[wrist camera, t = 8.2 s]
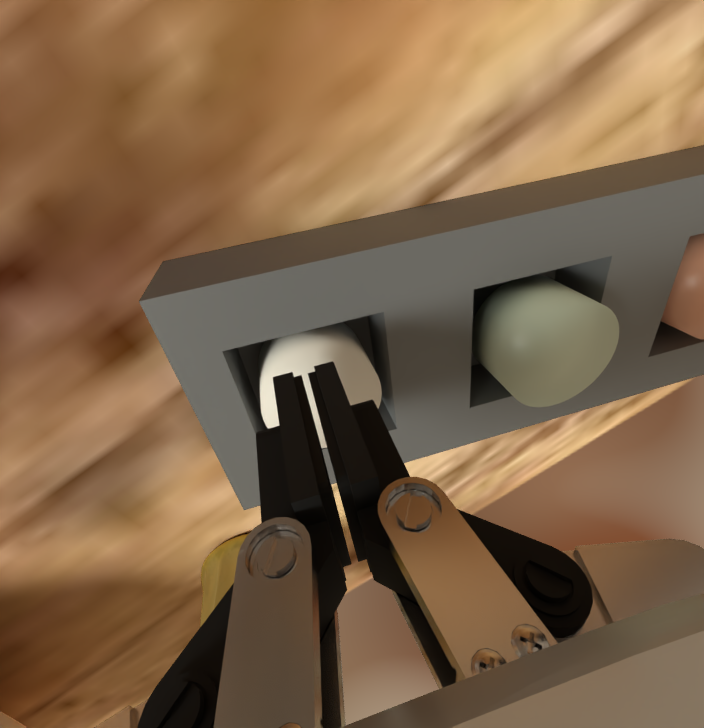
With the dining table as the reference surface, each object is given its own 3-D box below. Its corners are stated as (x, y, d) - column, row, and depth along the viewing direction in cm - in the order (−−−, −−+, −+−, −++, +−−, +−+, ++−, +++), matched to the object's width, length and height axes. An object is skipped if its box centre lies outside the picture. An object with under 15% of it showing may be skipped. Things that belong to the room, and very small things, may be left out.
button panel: (162, 261, 13) (139, 301, 10) (761, 132, 16) (878, 135, 13) (244, 447, 18) (243, 510, 15) (685, 325, 21) (758, 358, 18)
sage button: (470, 288, 13) (514, 319, 11) (572, 263, 14) (632, 289, 12) (468, 379, 16) (504, 419, 13) (556, 355, 16) (604, 390, 14)
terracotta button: (644, 233, 15) (710, 251, 13) (730, 212, 16) (807, 226, 13) (619, 322, 17) (672, 349, 15) (695, 302, 18) (757, 326, 16)
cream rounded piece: (244, 329, 13) (244, 369, 11) (354, 303, 14) (374, 336, 12) (274, 415, 16) (278, 461, 13) (367, 389, 16) (387, 430, 14)
